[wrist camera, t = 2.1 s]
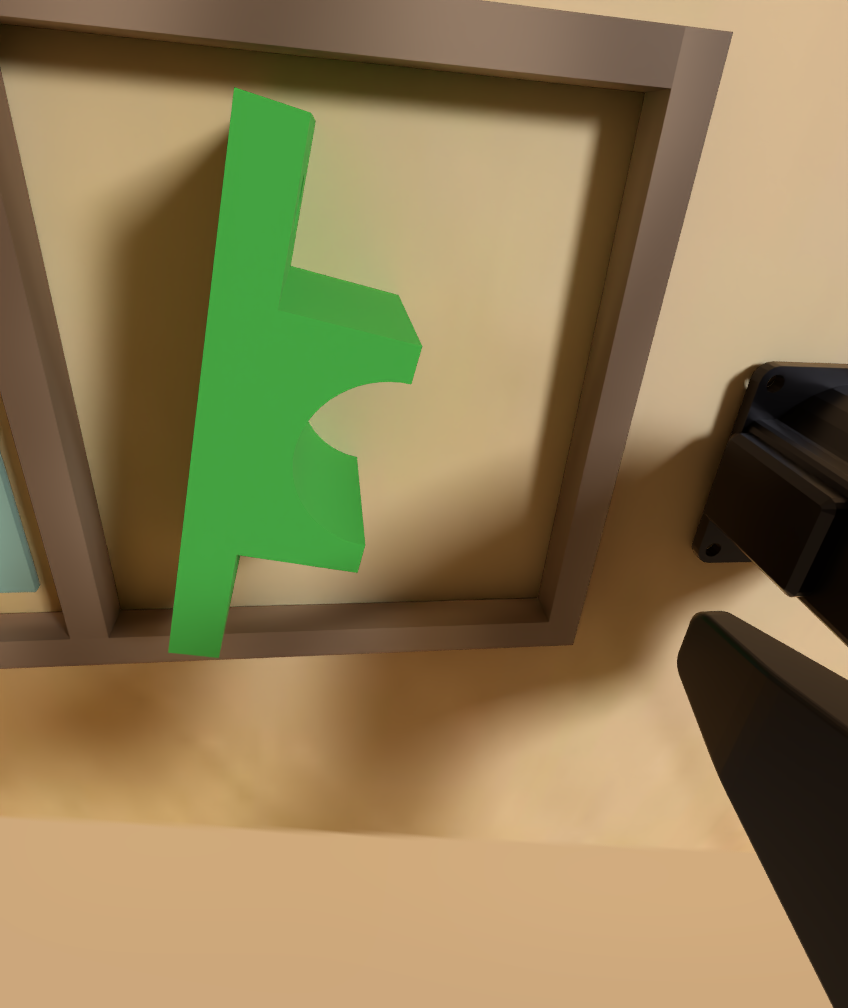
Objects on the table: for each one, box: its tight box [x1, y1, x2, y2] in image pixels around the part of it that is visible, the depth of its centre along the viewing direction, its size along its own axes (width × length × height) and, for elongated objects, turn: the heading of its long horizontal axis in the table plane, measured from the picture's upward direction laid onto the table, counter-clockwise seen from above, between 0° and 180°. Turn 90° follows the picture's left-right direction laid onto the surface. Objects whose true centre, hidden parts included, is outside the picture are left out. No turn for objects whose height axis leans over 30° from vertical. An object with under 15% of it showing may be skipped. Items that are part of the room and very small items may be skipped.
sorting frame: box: [0, 0, 733, 669], centre depth 14 cm, size 29×16×1 cm, turn 86°
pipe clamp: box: [168, 87, 422, 658], centre depth 14 cm, size 11×4×5 cm, turn 164°
